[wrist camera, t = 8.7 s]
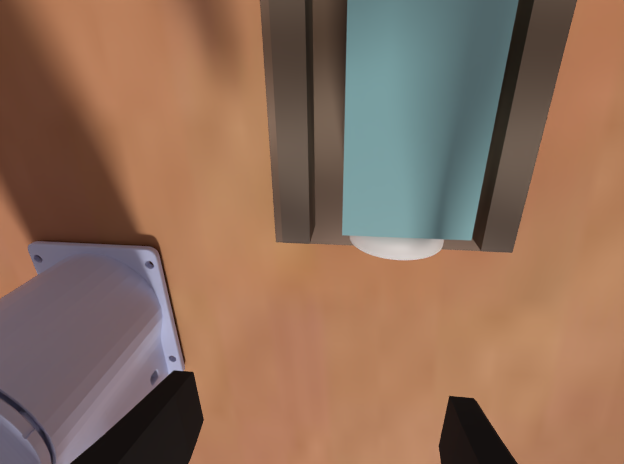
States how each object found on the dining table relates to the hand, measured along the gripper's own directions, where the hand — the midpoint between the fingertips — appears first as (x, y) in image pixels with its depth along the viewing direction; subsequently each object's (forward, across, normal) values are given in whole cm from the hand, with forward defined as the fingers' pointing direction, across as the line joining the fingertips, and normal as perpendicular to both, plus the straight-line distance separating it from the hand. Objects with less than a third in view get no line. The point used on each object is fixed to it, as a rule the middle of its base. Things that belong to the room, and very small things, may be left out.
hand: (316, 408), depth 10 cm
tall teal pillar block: (+8, -2, -9) cm, 13 cm away
